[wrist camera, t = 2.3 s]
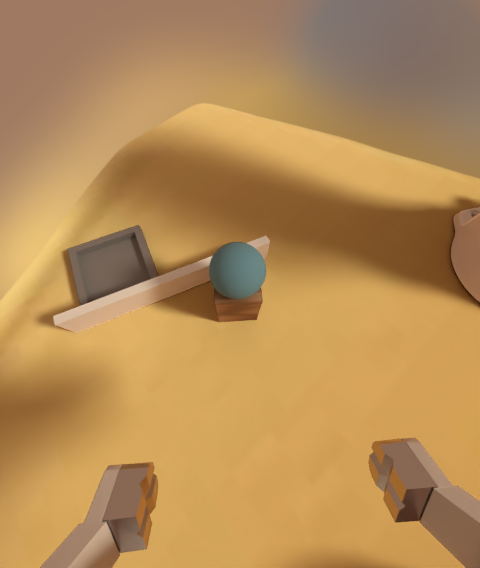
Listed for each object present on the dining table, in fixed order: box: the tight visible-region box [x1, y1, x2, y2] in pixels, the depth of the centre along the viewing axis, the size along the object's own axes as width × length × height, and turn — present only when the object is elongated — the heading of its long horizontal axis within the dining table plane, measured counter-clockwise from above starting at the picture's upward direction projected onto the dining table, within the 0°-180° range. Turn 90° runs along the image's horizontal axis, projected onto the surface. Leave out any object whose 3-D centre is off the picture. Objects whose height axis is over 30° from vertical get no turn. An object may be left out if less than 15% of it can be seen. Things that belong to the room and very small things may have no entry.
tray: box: [68, 225, 158, 306], centre depth 32 cm, size 9×9×1 cm
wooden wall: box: [53, 235, 270, 333], centre depth 30 cm, size 24×1×4 cm, turn 114°
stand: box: [214, 288, 263, 322], centre depth 28 cm, size 4×4×7 cm
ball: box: [209, 242, 266, 299], centre depth 23 cm, size 5×5×5 cm
